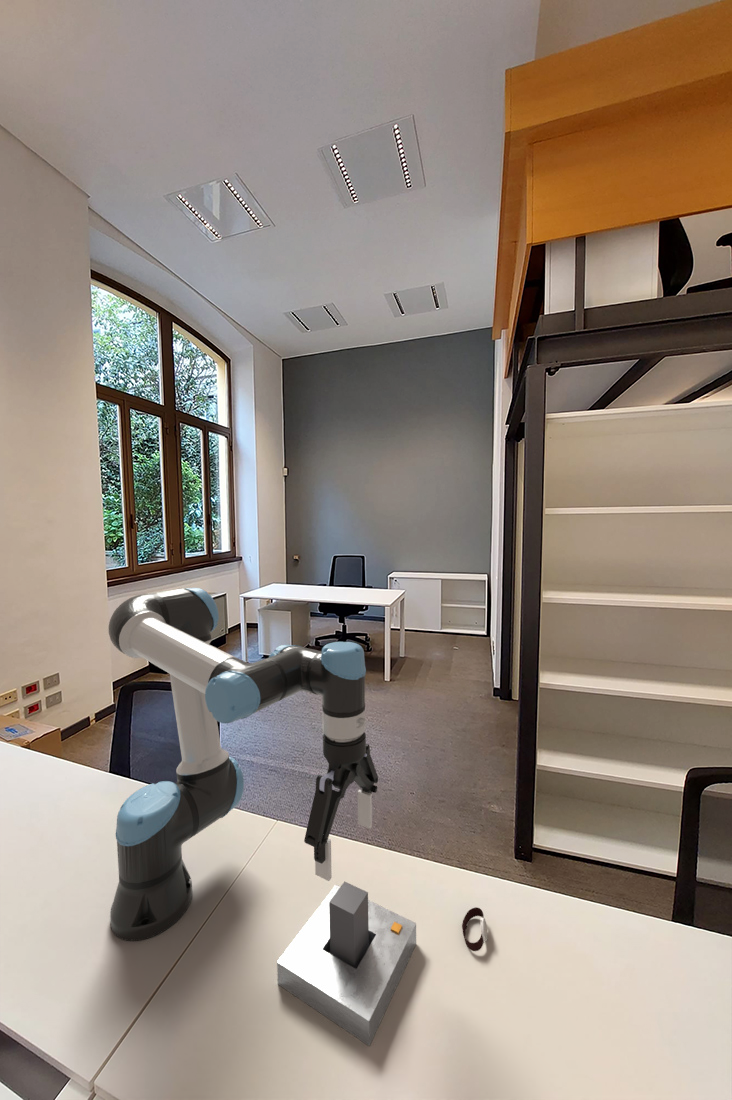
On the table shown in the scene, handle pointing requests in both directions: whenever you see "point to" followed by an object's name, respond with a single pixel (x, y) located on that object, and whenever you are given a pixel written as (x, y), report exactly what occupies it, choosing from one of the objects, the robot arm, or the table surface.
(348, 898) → the plug
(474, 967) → the table surface
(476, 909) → the watch
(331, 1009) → the socket
